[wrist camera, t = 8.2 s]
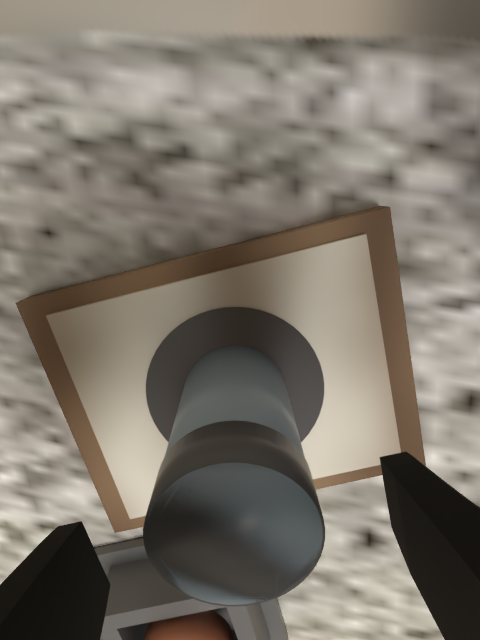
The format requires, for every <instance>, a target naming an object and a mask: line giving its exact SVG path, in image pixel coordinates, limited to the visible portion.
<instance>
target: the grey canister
mask: <svg viewBox="0 0 480 640" xmlns="http://www.w3.org/2000/svg"><path fill="white" fill-rule="evenodd" d="M143 541H144V547H145V550H146V553H147V557H148V559H149V561H150V563H151V565H152V566H153V568H154V569H155V570H156V572H157V573H158V574H159V576H160V577H161V578H162V579H163V580H164V581H165V582H166V583H168V584H169V585H170V586H171V587H172V588H174V589H176V590H177V591H179V592H180V593H182V594H184V595H186V596H188V597H190V598H192V599H195V600H198V601H201V602H204V603H208V604H213V605H219V606H233V607H234V606H248V605H255V604H259V603H263V602H267V601H270V600H272V599H275V598H277V597H279V596H282V595H284V594H286V593H287V592H289V591H290V590H292V589H294V588H295V587H296V586H298V585H299V584H300V583H301V582H302V581H303V580H304V579H305V578H306V577H307V576H308V575H309V574H310V573H311V571H312V570H313V569H314V567H315V566H316V564H317V562H318V560H319V558H320V556H321V553H322V550H323V546H324V541H325V526H324V520H323V516H322V512H321V509H320V505H319V501H318V497H317V494H316V490H315V486H314V483H313V479H312V475H311V472H310V469H309V466H308V463H307V461H306V459H305V456H304V453H303V449H302V445H301V441H300V437H299V434H298V430H297V426H296V422H295V418H294V415H293V411H292V407H291V403H290V399H289V396H288V392H287V388H286V384H285V381H284V378H283V375H282V373H281V371H280V369H279V368H278V367H277V365H276V364H275V363H274V362H273V361H272V360H271V359H270V358H269V357H268V356H266V355H264V354H263V353H261V352H259V351H257V350H254V349H251V348H248V347H243V346H228V347H222V348H219V349H216V350H213V351H211V352H209V353H208V354H206V355H204V356H203V357H202V358H200V359H199V360H198V361H197V362H196V363H195V364H194V366H193V367H192V369H191V370H190V372H189V374H188V376H187V379H186V382H185V385H184V389H183V392H182V396H181V400H180V403H179V407H178V410H177V414H176V418H175V421H174V425H173V428H172V432H171V435H170V439H169V443H168V446H167V450H166V453H165V457H164V459H163V461H162V463H161V466H160V469H159V471H158V475H157V478H156V482H155V485H154V489H153V492H152V496H151V499H150V503H149V506H148V510H147V513H146V517H145V521H144V527H143Z"/></svg>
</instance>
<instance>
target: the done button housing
mask: <svg viewBox="0 0 480 640" xmlns="http://www.w3.org/2000/svg"><path fill="white" fill-rule="evenodd" d="M94 550H95V552H96V554H97V556H98V558H99V561H100V563H101V565H102V567H103V569H104V571H105V574H106V576H107V578H108V580H109V582H110V584H111V585H110V591H109V597H108V602H107V608H106V614H105V618H104V623H103V628H102V633H101V637H102V639H103V640H144V638H145V634H146V629H147V627H148V625H149V623H150V622H154V621H159V620H164V619H169V618H174V617H179V616H184V615H189V614H194V613H199V612H204V611H209V610H213V611H215V612H216V613H218V614H219V615H221V616H222V617H223V618H224V619H225V620H226V621H227V622H228V624H229V625H230V627H231V629H232V633H233V640H288V634H287V630H286V627H285V623H284V620H283V617H282V613H281V610H280V607H279V603H278V600H277V598H275V599H272V600H270V601H267V602H263V603H259V604H255V605H248V606H234V607H233V606H219V605H213V604H208V603H204V602H201V601H198V600H195V599H192V598H190V597H188V596H186V595H184V594H182V593H180V592H179V591H177V590H176V589H174V588H172V587H171V586H170V585H169V584H168V583H166V582H165V581H164V580H163V579H162V578H161V577H160V576H159V574H158V573H157V572H156V570H155V569H154V568H153V566H152V565H151V563H150V561H149V559H148V557H147V553H146V550H145V547H144V541H143V538H139V539H135V540H130V541H125V542H121V543H116V544H111V545H107V546H102V547H97V548H94Z"/></svg>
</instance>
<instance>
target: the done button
mask: <svg viewBox="0 0 480 640" xmlns="http://www.w3.org/2000/svg"><path fill="white" fill-rule="evenodd" d="M144 640H233V633H232V629H231V627H230V625H229V624H228V622H227V621H226V620H225V619H224V618H223V617H222V616H221V615H219V614H218V613H216V612H215V611H213V610H209V611H204V612H199V613H194V614H189V615H184V616H179V617H174V618H169V619H164V620H159V621H154V622H150V623H149V625H148V627H147V629H146V634H145V638H144Z"/></svg>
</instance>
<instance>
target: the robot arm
mask: <svg viewBox="0 0 480 640" xmlns="http://www.w3.org/2000/svg"><path fill="white" fill-rule="evenodd" d="M379 458H380V464H381V469H382V475H383V481H384V486H385V492H386V497H387V503H388V509H389V514H390V520H391V526H392V529H393V532H394V534H395V537H396V539H397V542H398V544H399V547H400V549H401V552H402V554H403V557H404V559H405V561H406V564H407V566H408V569H409V571H410V574H411V576H412V578H413V579H414V581H415V583H416V585H417V587H418V589H419V591H420V593H421V595H422V597H423V599H424V601H425V603H426V605H427V606H428V608H429V610H430V612H431V614H432V616H433V618H434V620H435V622H436V624H437V626H438V628H439V629H440V631H441V633H442V635H443V637H444V639H445V640H480V507H478V506H477V505H475V504H474V503H473V502H471V501H470V500H468V499H467V498H466V497H464V496H463V495H462V494H460V493H459V492H458V491H456V490H455V489H454V488H453V487H451V486H450V485H449V484H447V483H446V482H445V481H443V480H442V479H441V478H440V477H438V476H437V475H436V474H435V473H433V472H432V471H431V470H430V469H428V468H427V467H426V466H425V465H423V464H422V463H421V462H420V461H418V460H417V459H416V458H415V457H414V456H412V455H411V454H409V453H408V452H401V453H396V454H392V455H387V456H382V457H379ZM110 585H111V584H110V582H109V580H108V578H107V576H106V574H105V571H104V569H103V567H102V565H101V563H100V561H99V558H98V556H97V554H96V552H95V550H94V547H93V545H92V543H91V541H90V539H89V537H88V534H87V532H86V530H85V528H84V526H83V523H82V521H81V522H76V523H72V524H67V525H63V526H58V527H57V528H56V529H55V530H54V531H52V532H51V533H50V534H49V535H48V536H47V537H46V538H45V539H44V540H43V541H42V542H41V543H40V544H39V545H38V546H37V547H36V548H35V549H34V550H33V551H32V552H31V553H30V554H29V555H28V556H27V557H26V559H25V560H24V561H23V562H22V563H21V564H20V565H19V566H18V567H17V568H16V569H15V570H14V571H13V572H12V573H11V574H10V575H9V576H8V577H7V578H6V579H5V580H4V581H3V583H2V584H1V585H0V640H100V637H101V633H102V628H103V623H104V618H105V614H106V608H107V602H108V597H109V591H110Z"/></svg>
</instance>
